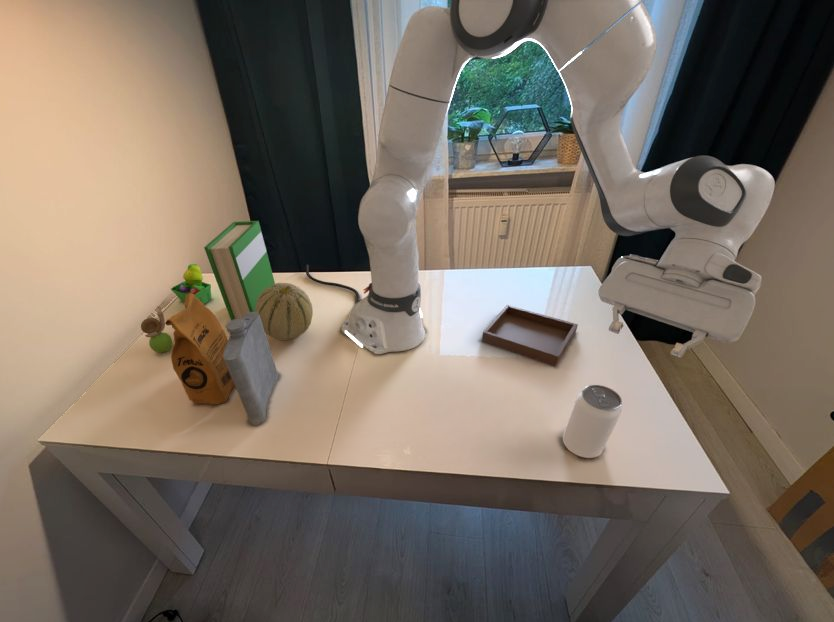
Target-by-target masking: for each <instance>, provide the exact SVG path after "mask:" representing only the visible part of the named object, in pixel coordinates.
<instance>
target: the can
mask: <svg viewBox="0 0 834 622" xmlns="http://www.w3.org/2000/svg"><path fill="white" fill-rule="evenodd" d="M622 399H623V398H622V397H621V396H620V394H619V393H618V392H617V391H615V390H614V389H612V388H610V387H607V386H605V385H600V384H590V385H587V386H585V387H584V388H583V389H582V391H580V393H578V395H577V396H576V399H575V401H574V404H573V407H572V409H571V411H570V415H569V418H568V421H567V423H566V426H565V428H564V432H563V434H562V442H563V444H564V446H565V448H567V450H568V451H569V452H571V453H572V454H573V455H575V456H578V457H579V458H580V457H581V458H584V459H585V458H586V459H593V458H596V457H599V456H600V455H601V454H602V452H603V451H604V450H605V447H606V445H607V443H608V441H609V439H610V437H611V435H612V433H613V431H614V429H615V427H616V424H617V422H618V420H619V418H620V416H621V414H622V409H623V408H622V405H623V400H622Z"/></svg>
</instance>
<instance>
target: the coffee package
mask: <svg viewBox="0 0 834 622" xmlns="http://www.w3.org/2000/svg"><path fill="white" fill-rule="evenodd" d="M165 326H171V328H172V329H173V330H174V331H173V345H172V347H171V354H170V358H171V360H170V361H171V364H172V369H173V371H174V372H175V374H176V376H177V378H178V379H179V381H180V383H181V385H182V386H183V389H184V392H185V393H186V395H187V397H188V399H189V401H191V402H192V403H194V404H197V405H199V404H211V405H218V404H223V403H226V402H227V401H228V399H229V397H230V394H231V391H232V390H233V389H234V388H236V387H235V385H234V382H233V380H232V377H231V375H230V373H229V370H228V368H227V365H226V363H225V361H224V358H223V355H224V351H225V347H226V345H227V342H228V340H229V338H228V337H227V335H226V332H225V330H224V328H223V326H222V325H221V322H220V320H219V319H218V317H217V316H216V315H215V313H213V312H212V311H211V309H210V308H209V307H207V306H206V305H205V304H203V303H202V302H201V301H200V300H199V299H197V298H196V297H195V296H194V295H193V294H192V293H189V294H187V295H186V296H185V302H184V309H182V310H180V311H179V312H177V313H176V314H173V315H172V316H171V317H170V318H167V319H166V321H165Z"/></svg>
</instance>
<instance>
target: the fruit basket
mask: <svg viewBox="0 0 834 622" xmlns="http://www.w3.org/2000/svg"><path fill="white" fill-rule="evenodd" d="M201 271H202V270H201V267H199V266H198V264H197V263H190V264H188V265H187V270H185V271H184V273H183V277H182V278H183V280H184V281H182V282H180V283H178V284H177V285H174V286H172V287H171V288H170V290H171V291H172V292H173V293H174V294H175V296H176V297H177V298H178V299H179V300H180V301H181V302H182V303H185V296H186V295H187V294H189V293H192V294H193V295H194V296H195V297H196V298H197V299H199V300H200V301H201V302H202V303H203V304H204V305H205V304H207V303H209V302H210V301H212V290H211V289H212V284H211V283H208V282H204V281H203V274H202V272H201Z"/></svg>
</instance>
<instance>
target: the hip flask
mask: <svg viewBox="0 0 834 622" xmlns="http://www.w3.org/2000/svg"><path fill="white" fill-rule="evenodd" d="M225 329H226V331H227V332H228V333H229V338H228V342H227V345H226V347H225V351H224V355H223V358H224V361H225V363H226V365H227V368H228V370H229V373H230V375H231V377H232V380H233V382H234V385H235V387H234V388H235V389H236V392H237V394H238V396H239V399H240V402H241V403H242V406H243V408H244V411H245V413H246V416H247V417H248V420H249V423H250V424H251V425H253V426H259V425H261V424H263V423H264V422H265V420H266V416H267V415H266V413H267V406H268V403H269V400H270V397H271V393H272V391H273V389H274V386H275V385H276V383H277V381H278V380H279V377H280V376H279V373H278V370H277V366H276V363H275V359H274V356H273V353H272V351H271V348H270V344H269V341H268V338H267V334H266V333H265V331H264V328H263V325H262V322H261V318H260V315H259V313H258V312H249V313H247V314H246V315H245V316H244V317H243V318H242V319H234V320H231V319H230V321H227V323H226V324H225Z"/></svg>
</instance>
